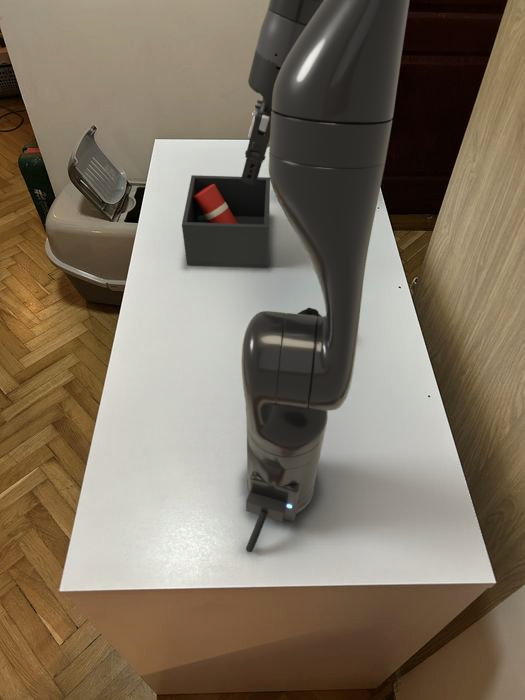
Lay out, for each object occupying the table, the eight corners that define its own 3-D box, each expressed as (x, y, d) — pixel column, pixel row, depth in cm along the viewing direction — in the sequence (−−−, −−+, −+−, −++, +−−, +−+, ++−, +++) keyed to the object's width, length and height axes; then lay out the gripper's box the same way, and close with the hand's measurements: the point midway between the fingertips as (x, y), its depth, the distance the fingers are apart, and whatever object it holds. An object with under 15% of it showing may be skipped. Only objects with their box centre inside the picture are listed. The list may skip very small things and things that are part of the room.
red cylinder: (222, 237, 103) (197, 196, 100) (214, 237, 108) (190, 197, 104) (242, 223, 104) (217, 182, 101) (233, 224, 109) (210, 184, 105)
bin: (267, 268, 103) (268, 227, 95) (187, 265, 103) (181, 224, 95) (269, 218, 113) (270, 177, 105) (195, 215, 113) (191, 175, 105)
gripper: (263, 34, 74) (235, 146, 84) (248, 58, 63) (219, 183, 74) (314, 52, 74) (280, 161, 85) (308, 79, 64) (270, 199, 74)
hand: (252, 171), depth 79 cm, fingers open, 8 cm apart
